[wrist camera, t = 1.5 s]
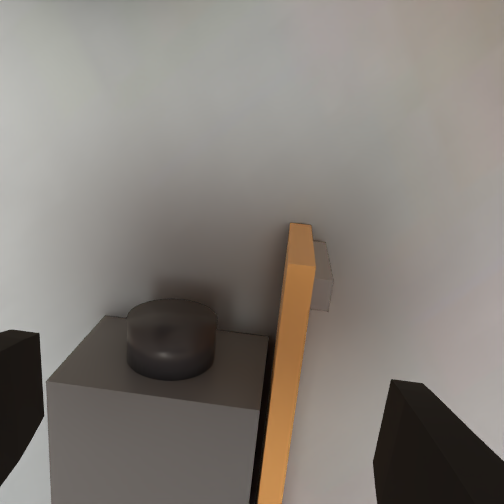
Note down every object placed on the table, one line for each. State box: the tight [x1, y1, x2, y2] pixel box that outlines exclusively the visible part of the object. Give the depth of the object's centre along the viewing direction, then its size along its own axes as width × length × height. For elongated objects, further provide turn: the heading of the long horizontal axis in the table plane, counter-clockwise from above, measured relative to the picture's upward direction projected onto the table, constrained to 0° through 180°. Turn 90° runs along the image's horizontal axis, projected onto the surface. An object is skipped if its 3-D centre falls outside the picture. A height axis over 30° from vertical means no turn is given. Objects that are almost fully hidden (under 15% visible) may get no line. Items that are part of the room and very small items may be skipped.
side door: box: [255, 223, 333, 504], centre depth 18 cm, size 15×1×5 cm, turn 175°
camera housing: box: [46, 299, 269, 504], centre depth 19 cm, size 12×7×6 cm, turn 175°
